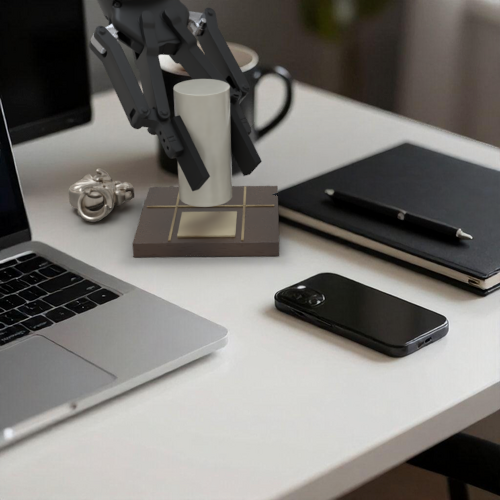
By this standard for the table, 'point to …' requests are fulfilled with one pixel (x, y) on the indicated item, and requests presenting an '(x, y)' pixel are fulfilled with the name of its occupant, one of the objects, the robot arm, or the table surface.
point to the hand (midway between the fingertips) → (227, 175)
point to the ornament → (98, 195)
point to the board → (209, 225)
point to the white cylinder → (207, 138)
